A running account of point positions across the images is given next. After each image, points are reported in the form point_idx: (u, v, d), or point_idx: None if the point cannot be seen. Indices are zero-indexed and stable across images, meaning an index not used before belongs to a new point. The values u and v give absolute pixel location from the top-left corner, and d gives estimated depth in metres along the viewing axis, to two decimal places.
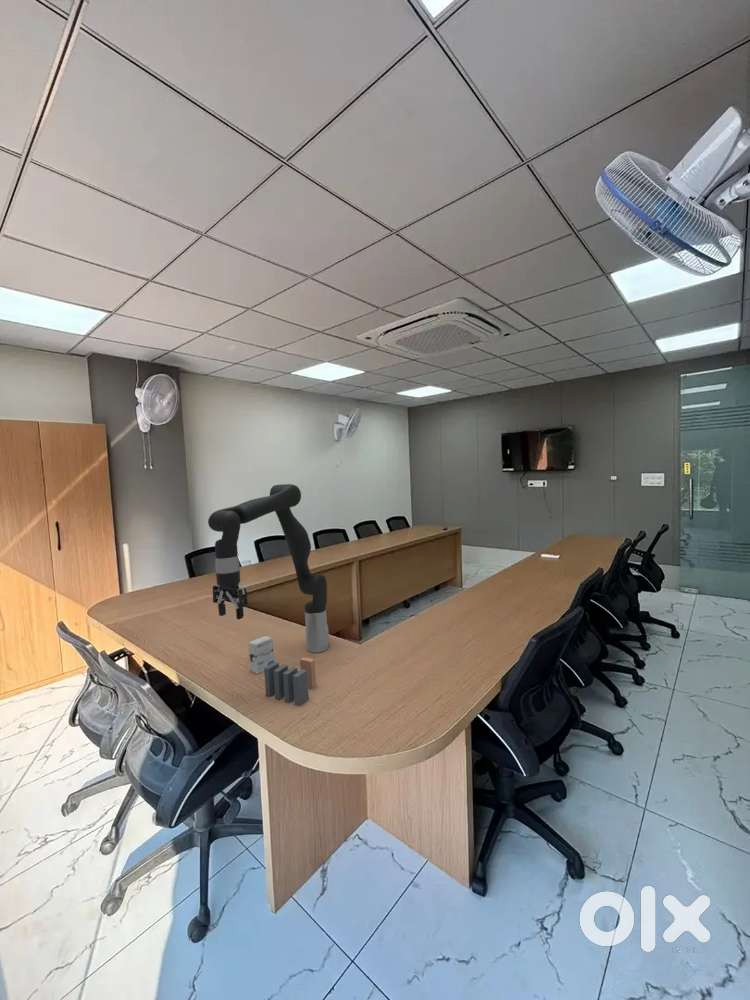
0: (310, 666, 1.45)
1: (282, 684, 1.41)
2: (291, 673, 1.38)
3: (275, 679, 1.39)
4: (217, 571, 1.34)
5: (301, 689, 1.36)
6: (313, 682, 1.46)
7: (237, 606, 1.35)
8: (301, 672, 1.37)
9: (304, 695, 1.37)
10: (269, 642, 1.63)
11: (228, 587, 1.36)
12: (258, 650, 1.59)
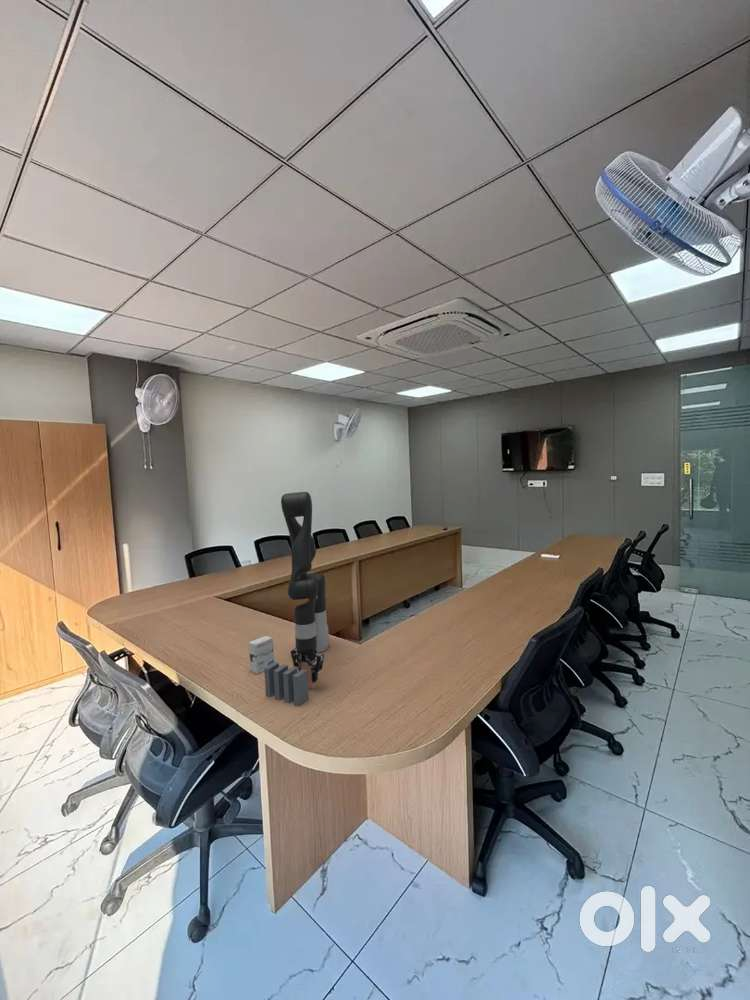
0: None
1: (282, 684, 1.41)
2: (291, 673, 1.38)
3: (275, 679, 1.39)
4: (297, 636, 1.43)
5: (301, 689, 1.36)
6: None
7: (313, 671, 1.44)
8: (301, 672, 1.37)
9: (304, 695, 1.37)
10: (269, 642, 1.63)
11: (307, 651, 1.45)
12: (258, 650, 1.59)
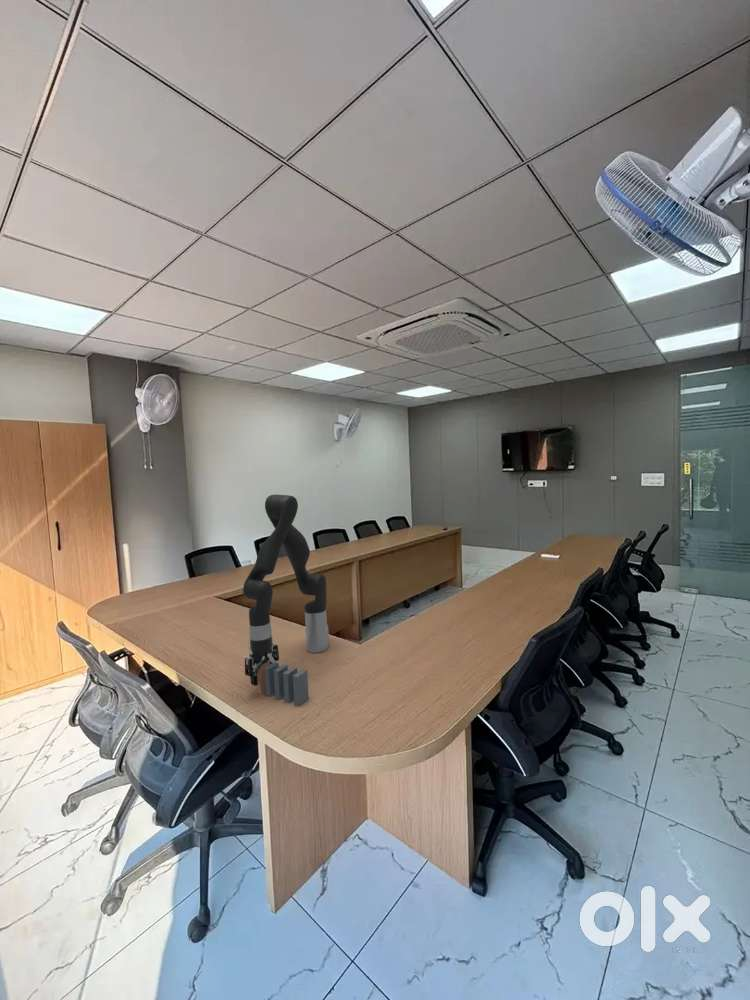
0: None
1: (282, 684, 1.41)
2: (291, 673, 1.38)
3: (275, 679, 1.39)
4: None
5: (301, 689, 1.36)
6: (257, 687, 1.44)
7: None
8: (301, 672, 1.37)
9: (304, 695, 1.37)
10: None
11: None
12: None
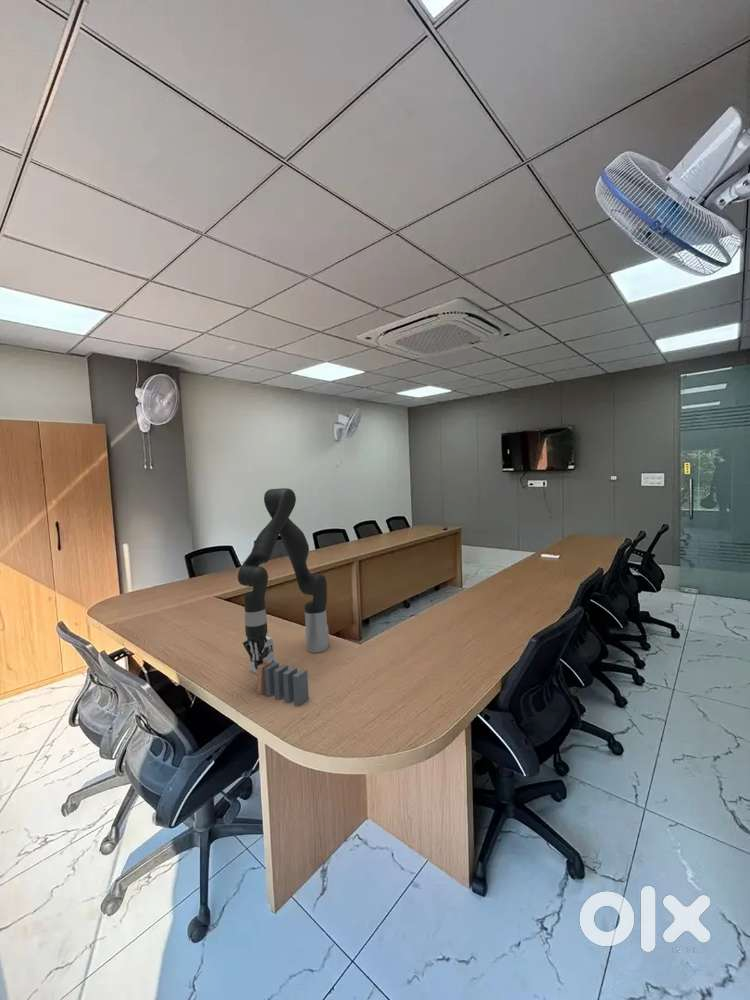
0: None
1: (282, 684, 1.41)
2: (291, 673, 1.38)
3: (275, 679, 1.39)
4: (246, 624, 1.43)
5: (301, 689, 1.36)
6: (258, 687, 1.44)
7: (257, 658, 1.45)
8: (301, 672, 1.37)
9: (304, 695, 1.37)
10: (269, 642, 1.63)
11: (256, 638, 1.44)
12: None
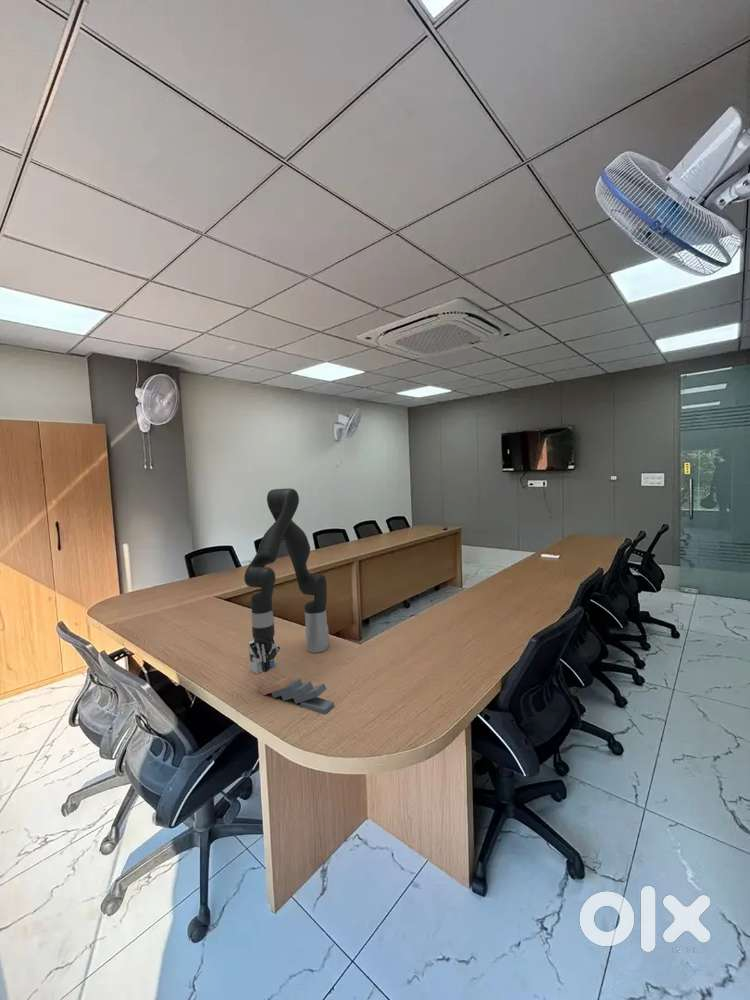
0: (277, 683, 1.39)
1: None
2: None
3: (296, 692, 1.35)
4: (253, 625, 1.41)
5: None
6: (265, 690, 1.42)
7: (264, 660, 1.43)
8: (330, 708, 1.32)
9: None
10: None
11: (263, 640, 1.43)
12: None
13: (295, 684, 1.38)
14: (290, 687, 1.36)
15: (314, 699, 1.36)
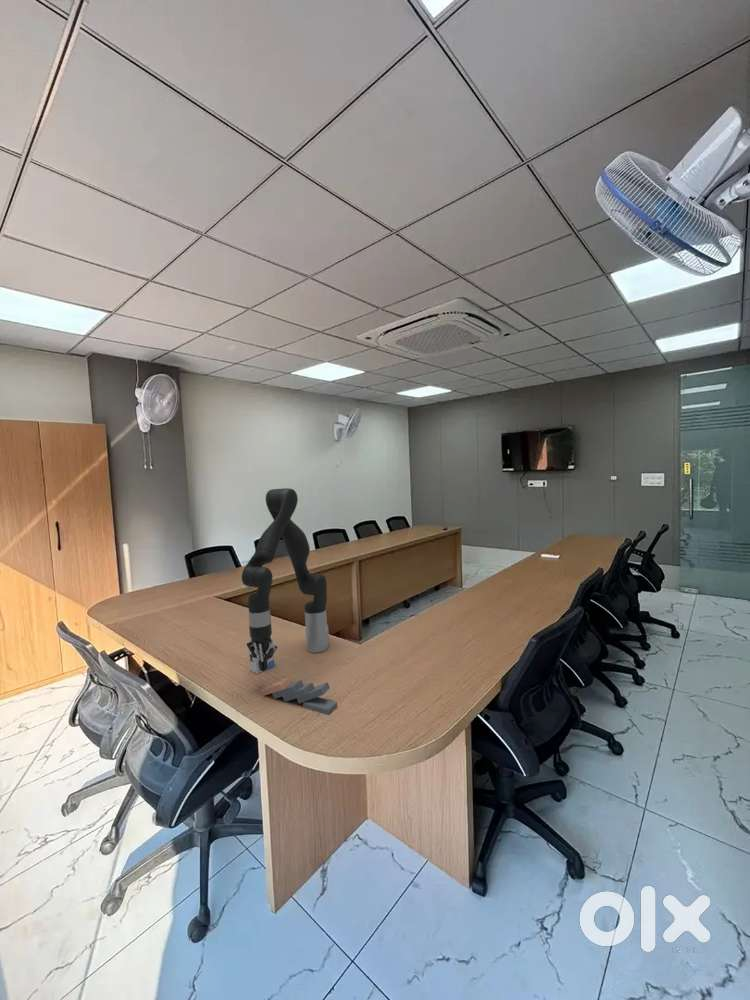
0: (277, 685, 1.39)
1: None
2: None
3: (297, 693, 1.35)
4: (251, 625, 1.42)
5: None
6: (265, 691, 1.42)
7: (262, 659, 1.44)
8: (333, 708, 1.32)
9: None
10: None
11: (261, 639, 1.43)
12: None
13: (296, 685, 1.37)
14: (291, 688, 1.36)
15: (317, 699, 1.36)
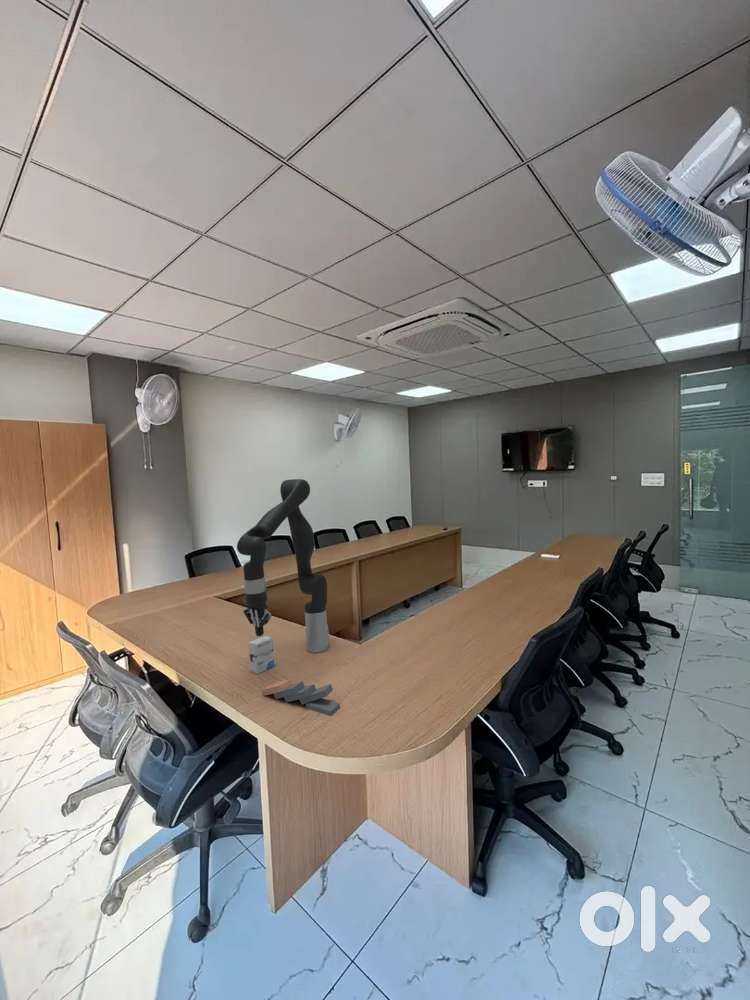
0: (277, 686, 1.38)
1: None
2: None
3: (299, 695, 1.34)
4: (246, 592, 1.47)
5: None
6: (265, 691, 1.41)
7: (258, 625, 1.49)
8: (336, 710, 1.31)
9: None
10: (269, 642, 1.63)
11: (256, 606, 1.49)
12: (258, 650, 1.59)
13: (297, 687, 1.37)
14: (292, 690, 1.35)
15: (319, 700, 1.35)
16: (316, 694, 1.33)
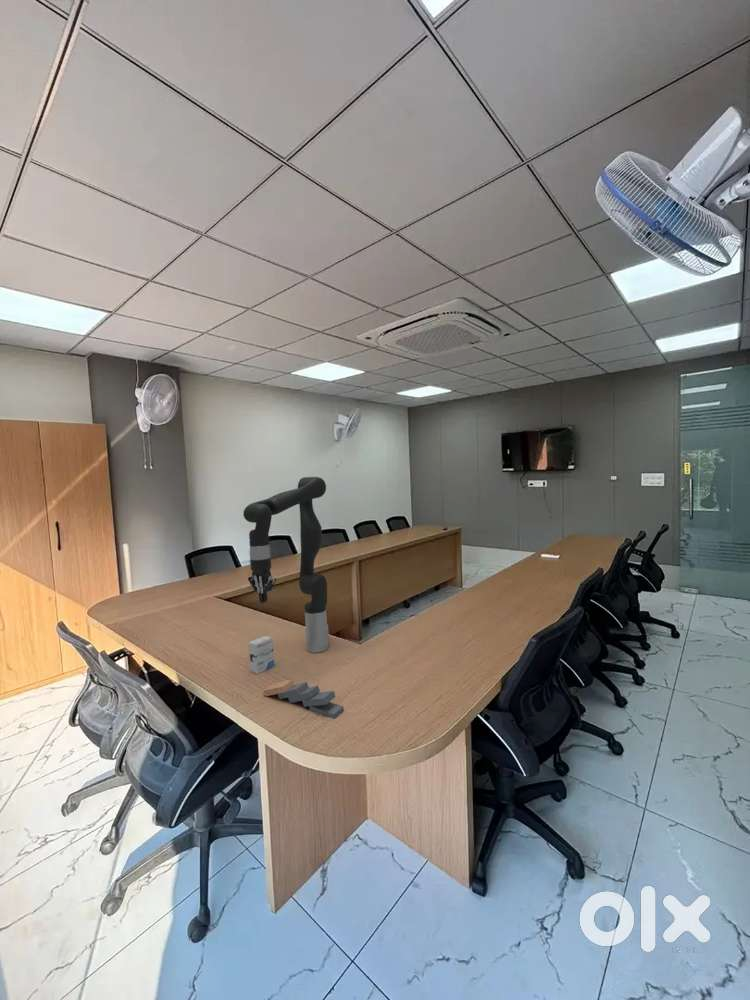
0: (280, 686, 1.38)
1: None
2: None
3: (302, 696, 1.34)
4: (251, 558, 1.50)
5: None
6: (267, 691, 1.41)
7: (262, 591, 1.52)
8: (339, 713, 1.30)
9: None
10: (269, 642, 1.63)
11: (261, 572, 1.52)
12: (258, 650, 1.59)
13: (301, 687, 1.36)
14: (295, 690, 1.35)
15: None
16: (316, 700, 1.30)
